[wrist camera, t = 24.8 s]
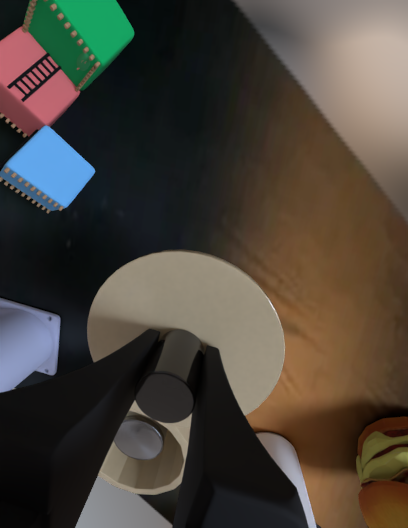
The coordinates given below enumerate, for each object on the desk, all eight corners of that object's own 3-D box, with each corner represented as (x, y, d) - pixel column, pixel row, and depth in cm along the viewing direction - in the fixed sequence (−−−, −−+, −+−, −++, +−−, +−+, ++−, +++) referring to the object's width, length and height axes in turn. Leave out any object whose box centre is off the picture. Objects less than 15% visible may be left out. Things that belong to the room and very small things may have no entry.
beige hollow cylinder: (107, 416, 27) (73, 473, 21) (118, 345, 24) (83, 389, 18) (188, 441, 26) (176, 508, 20) (210, 373, 23) (203, 427, 18)
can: (251, 421, 24) (269, 614, 13) (306, 442, 24) (374, 658, 13) (230, 459, 26) (229, 658, 15) (281, 479, 26) (321, 697, 14)
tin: (130, 409, 25) (109, 451, 21) (136, 376, 24) (116, 413, 20) (170, 422, 25) (157, 466, 21) (179, 389, 24) (167, 429, 19)
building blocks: (124, 125, 23) (49, 215, 19) (43, 26, 17) (-87, 125, 13) (173, 92, 17) (83, 209, 13) (79, -65, 12) (-120, 54, 8)
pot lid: (106, 401, 15) (59, 475, 11) (88, 243, 12) (15, 261, 8) (270, 422, 14) (287, 513, 10) (291, 251, 11) (328, 278, 7)
